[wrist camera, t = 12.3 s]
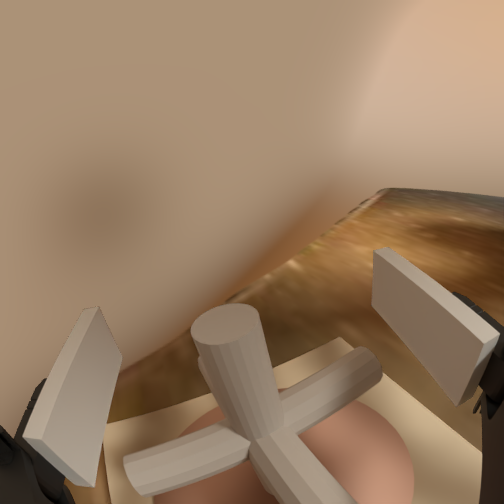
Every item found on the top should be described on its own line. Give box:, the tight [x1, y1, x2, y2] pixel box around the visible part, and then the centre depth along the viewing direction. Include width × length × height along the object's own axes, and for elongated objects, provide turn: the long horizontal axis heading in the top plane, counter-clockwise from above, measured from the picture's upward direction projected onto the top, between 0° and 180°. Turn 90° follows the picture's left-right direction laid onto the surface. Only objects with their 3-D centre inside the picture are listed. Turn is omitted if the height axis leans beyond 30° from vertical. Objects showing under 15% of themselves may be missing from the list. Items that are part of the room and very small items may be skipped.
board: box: [103, 337, 482, 504], centre depth 12 cm, size 18×16×2 cm
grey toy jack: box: [123, 303, 383, 504], centre depth 9 cm, size 10×10×10 cm
